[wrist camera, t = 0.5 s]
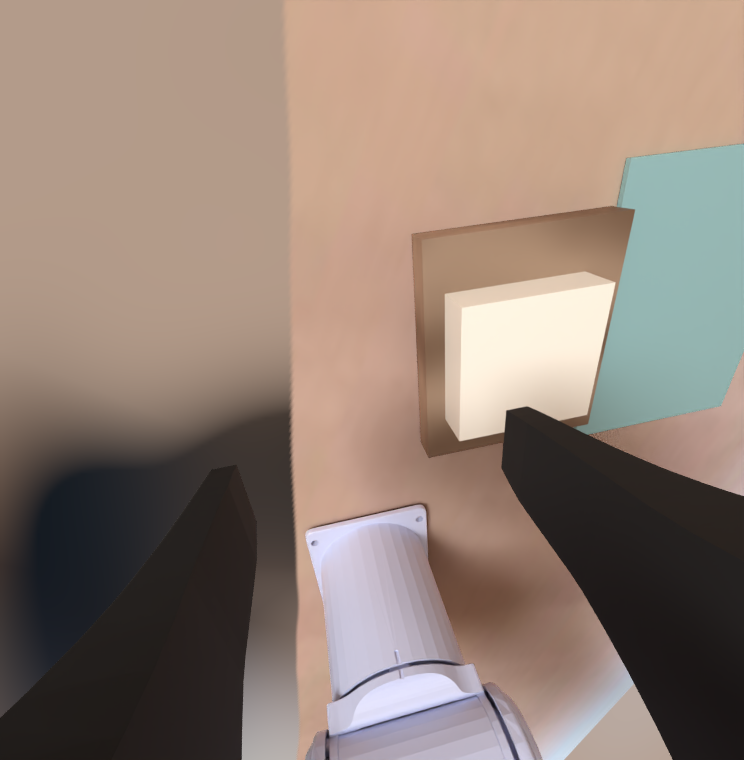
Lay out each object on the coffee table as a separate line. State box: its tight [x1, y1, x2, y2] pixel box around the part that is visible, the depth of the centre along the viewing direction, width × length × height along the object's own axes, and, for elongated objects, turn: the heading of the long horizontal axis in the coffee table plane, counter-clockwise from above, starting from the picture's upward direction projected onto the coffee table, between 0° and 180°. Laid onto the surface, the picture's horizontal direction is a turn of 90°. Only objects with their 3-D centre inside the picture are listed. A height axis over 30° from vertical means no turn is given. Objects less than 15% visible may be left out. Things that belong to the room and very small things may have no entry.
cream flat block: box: [445, 272, 616, 441], centre depth 19 cm, size 7×7×2 cm
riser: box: [412, 206, 635, 458], centre depth 21 cm, size 12×10×2 cm
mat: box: [573, 144, 744, 435], centre depth 23 cm, size 16×11×1 cm
